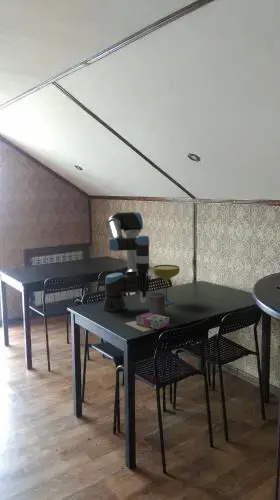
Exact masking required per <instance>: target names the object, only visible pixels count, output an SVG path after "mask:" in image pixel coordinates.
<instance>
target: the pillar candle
mask: <svg viewBox="0 0 280 500" xmlns="http://www.w3.org/2000/svg"><path fill="white" fill-rule="evenodd" d="M148 296H149V298H148V300H149V304H148V305H149V306H148V307H149V313H153V314H157V315H161V316H165V317H166V305H165V298H166V294H165V293H160V292H153V293H150V294H148Z"/></svg>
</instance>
